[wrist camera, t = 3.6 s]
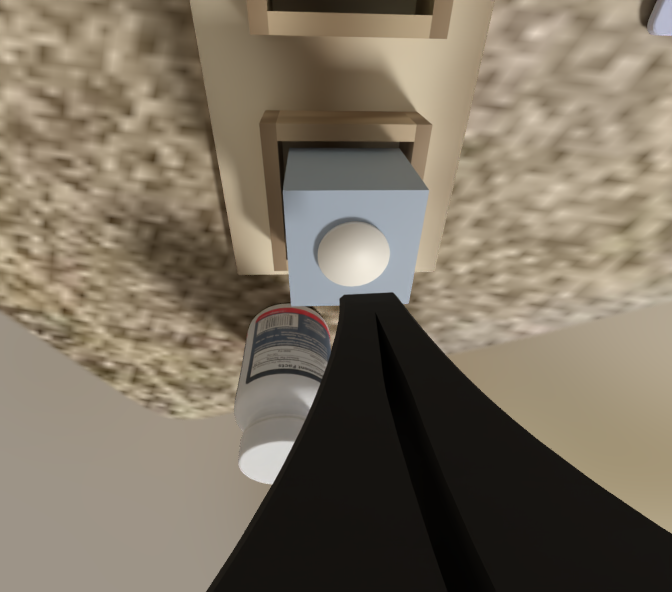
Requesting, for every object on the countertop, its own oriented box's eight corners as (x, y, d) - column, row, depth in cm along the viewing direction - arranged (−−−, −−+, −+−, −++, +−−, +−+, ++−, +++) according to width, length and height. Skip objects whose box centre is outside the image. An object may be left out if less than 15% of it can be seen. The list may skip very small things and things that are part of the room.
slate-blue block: (399, 148, 14) (431, 192, 11) (387, 244, 17) (409, 307, 13) (289, 147, 14) (282, 193, 10) (294, 245, 17) (291, 309, 13)
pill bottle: (304, 369, 26) (303, 500, 19) (235, 343, 24) (205, 479, 17) (345, 320, 23) (361, 451, 16) (271, 288, 21) (253, 420, 14)
